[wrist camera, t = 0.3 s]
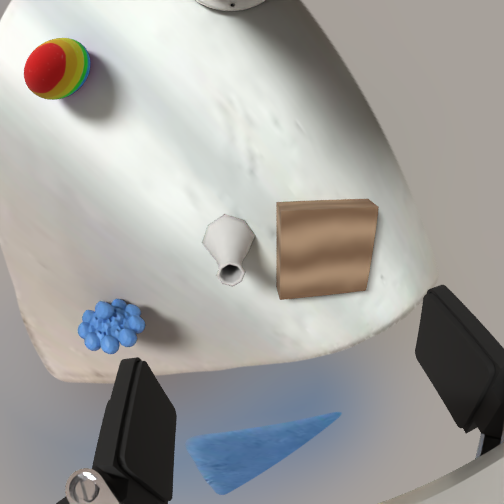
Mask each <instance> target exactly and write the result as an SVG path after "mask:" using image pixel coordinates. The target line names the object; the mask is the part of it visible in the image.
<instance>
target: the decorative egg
mask: <svg viewBox="0 0 504 504" xmlns="http://www.w3.org/2000/svg"><path fill="white" fill-rule="evenodd" d="M89 71H90V57H89V54H88V52H87V50H86V48H85V47H84V46H83V45H82V44H81V43H79V42H77V41H75V40H73V39H69V38H57V39H52V40H49V41H47V42H45V43H43V44H41V45H40V46H38V47H37V48H36V49H35V50H34V51H33V52H32V53H31V55H30V56H29V58H28V59H27V61H26V64H25V68H24V78H25V82H26V84H27V86H28V88H29V89H30V90H31V91H32V92H33V93H34V94H35V95H37V96H39V97H41V98H45V99H52V100H54V99H61V98H65V97H67V96H69V95H71V94H73V93H74V92H76V91H77V90H78V89H79V88H80V87H81V86H82V85H83V84H84V82H85V81H86V79H87V77H88V74H89Z"/></svg>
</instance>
